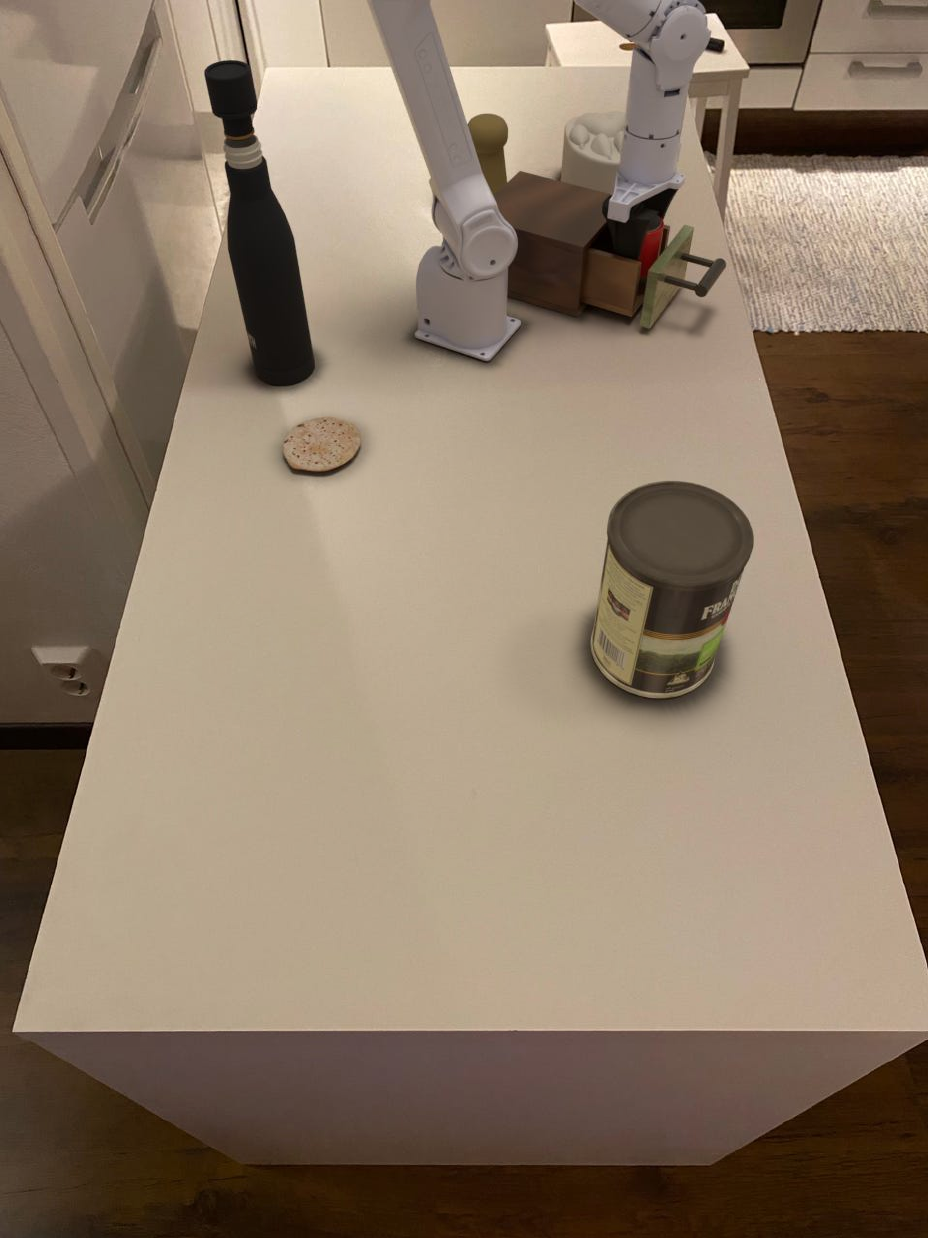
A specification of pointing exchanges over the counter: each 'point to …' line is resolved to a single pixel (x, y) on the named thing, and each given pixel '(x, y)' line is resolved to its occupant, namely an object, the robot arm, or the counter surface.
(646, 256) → the can
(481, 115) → the cork
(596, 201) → the cabinet
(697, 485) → the coffee can
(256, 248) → the black bottle
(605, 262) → the drawer
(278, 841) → the counter surface
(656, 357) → the counter surface
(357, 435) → the flatbread
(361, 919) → the counter surface
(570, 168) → the lumpy-topped squat cylinder
